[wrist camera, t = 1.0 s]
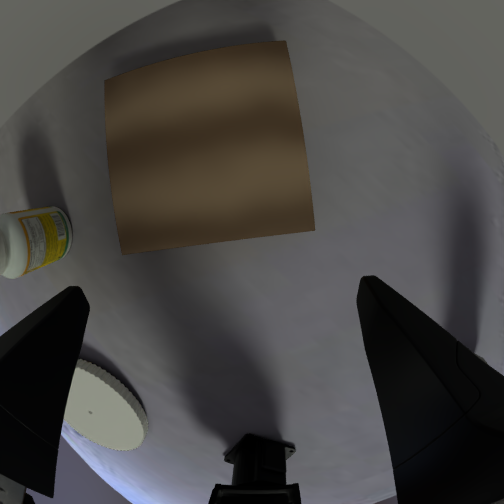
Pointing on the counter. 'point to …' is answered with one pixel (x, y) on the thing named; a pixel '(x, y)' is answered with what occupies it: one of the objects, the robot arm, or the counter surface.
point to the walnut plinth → (207, 149)
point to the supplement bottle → (32, 239)
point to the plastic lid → (104, 409)
